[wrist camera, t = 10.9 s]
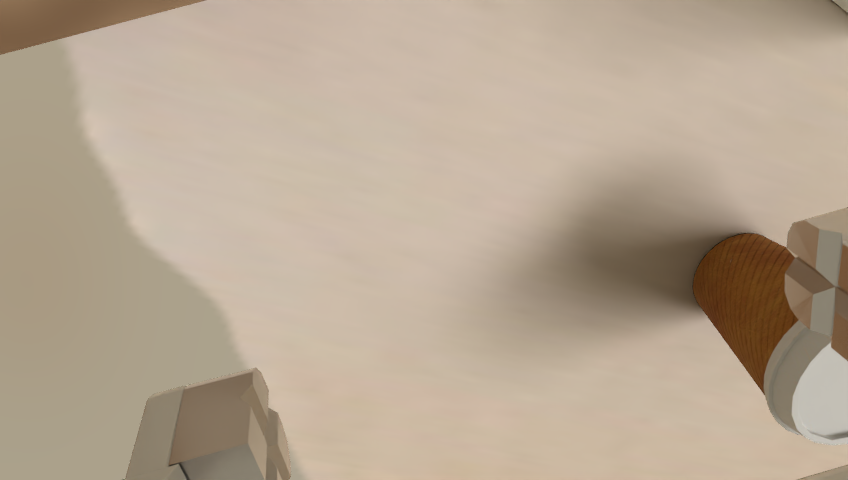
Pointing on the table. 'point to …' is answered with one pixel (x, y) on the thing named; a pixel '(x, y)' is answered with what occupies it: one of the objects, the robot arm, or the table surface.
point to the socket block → (68, 18)
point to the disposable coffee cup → (774, 337)
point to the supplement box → (842, 4)
